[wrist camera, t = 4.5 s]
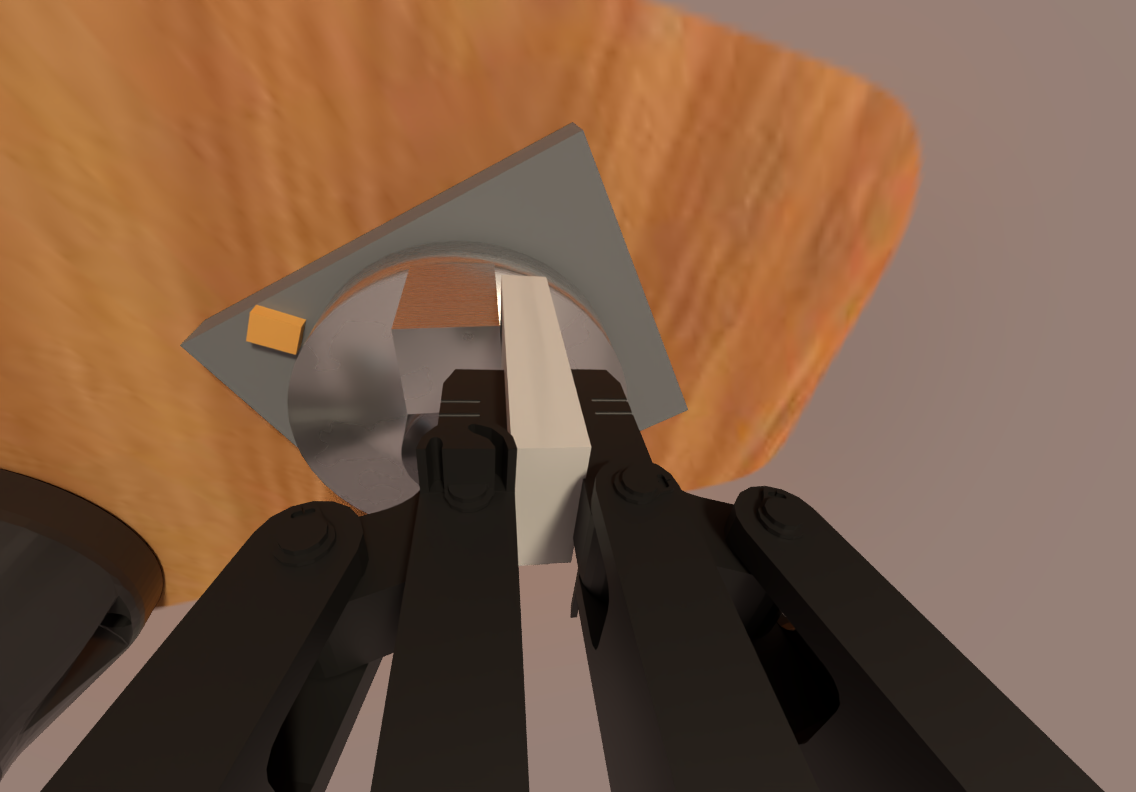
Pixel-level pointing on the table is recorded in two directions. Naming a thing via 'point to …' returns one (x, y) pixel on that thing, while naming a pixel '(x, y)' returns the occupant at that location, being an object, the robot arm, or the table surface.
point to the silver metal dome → (413, 359)
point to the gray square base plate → (473, 214)
